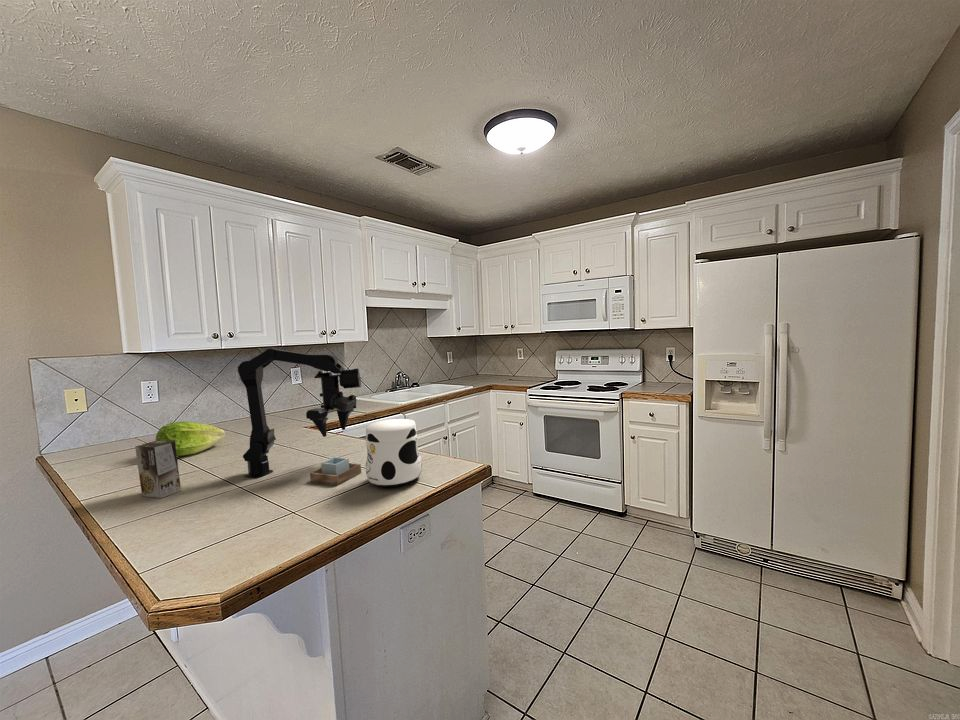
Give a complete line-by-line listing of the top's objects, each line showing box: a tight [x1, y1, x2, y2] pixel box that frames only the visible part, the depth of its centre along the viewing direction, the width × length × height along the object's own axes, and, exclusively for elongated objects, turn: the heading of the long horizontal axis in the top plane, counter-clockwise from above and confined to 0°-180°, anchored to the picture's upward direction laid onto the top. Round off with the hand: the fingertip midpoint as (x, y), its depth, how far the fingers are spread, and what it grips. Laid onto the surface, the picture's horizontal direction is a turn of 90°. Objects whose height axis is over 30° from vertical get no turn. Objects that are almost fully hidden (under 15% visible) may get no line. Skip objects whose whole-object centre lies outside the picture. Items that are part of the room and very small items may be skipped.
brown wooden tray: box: [309, 462, 362, 487], centre depth 131 cm, size 11×11×3 cm
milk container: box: [364, 418, 423, 488], centre depth 125 cm, size 17×17×18 cm
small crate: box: [320, 457, 350, 475], centre depth 131 cm, size 6×6×5 cm
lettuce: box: [155, 421, 226, 458], centre depth 171 cm, size 17×24×14 cm
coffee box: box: [134, 440, 182, 499], centre depth 125 cm, size 9×6×16 cm
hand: (334, 433), depth 142 cm, fingers open, 9 cm apart
